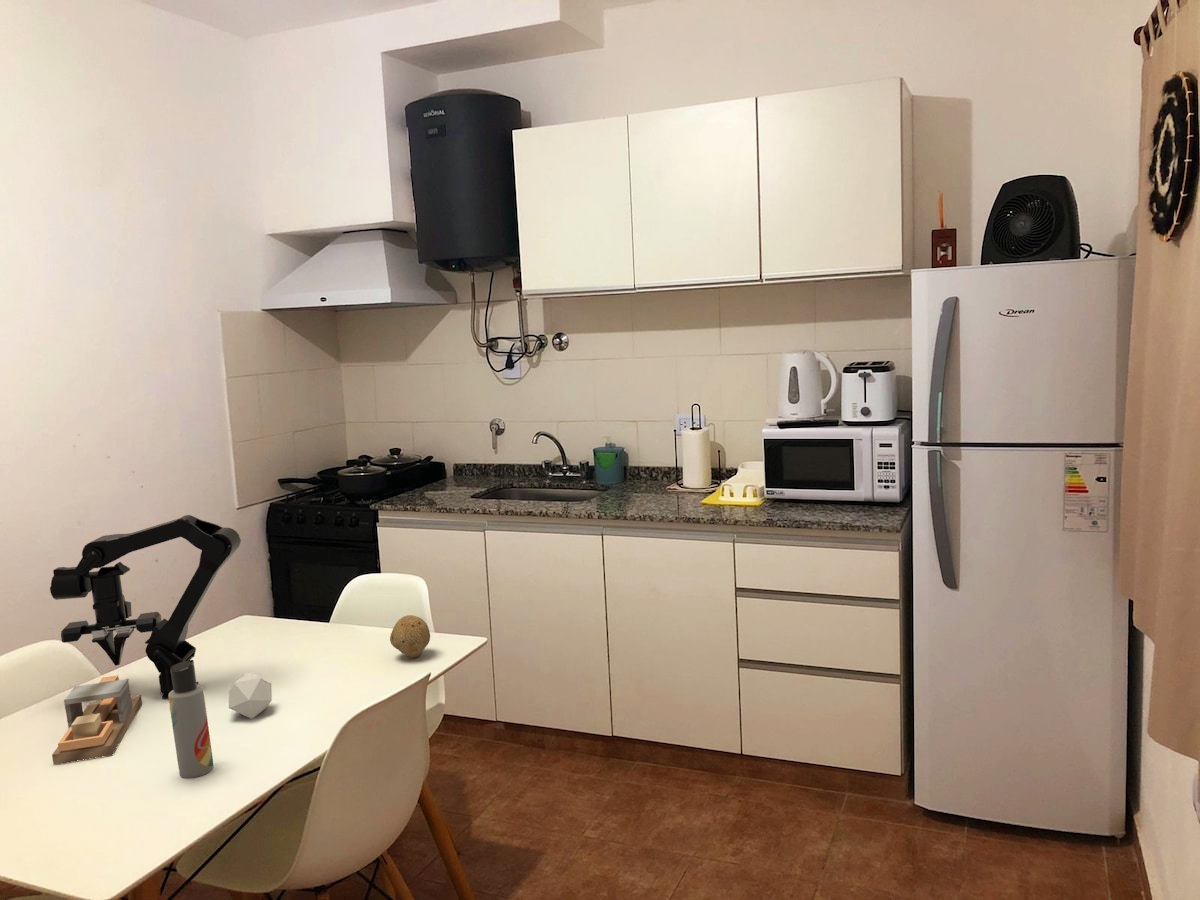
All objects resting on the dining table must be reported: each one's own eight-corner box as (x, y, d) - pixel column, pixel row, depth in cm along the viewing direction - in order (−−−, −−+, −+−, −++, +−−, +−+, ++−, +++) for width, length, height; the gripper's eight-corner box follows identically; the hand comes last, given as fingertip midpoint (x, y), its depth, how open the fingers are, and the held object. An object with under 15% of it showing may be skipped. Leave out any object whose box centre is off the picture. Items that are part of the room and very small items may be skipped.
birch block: (103, 732, 183) (100, 713, 182) (97, 741, 179) (94, 721, 178) (80, 736, 182) (77, 716, 181) (74, 745, 178) (71, 725, 177)
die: (282, 714, 192) (279, 669, 196) (252, 710, 185) (249, 663, 189) (251, 727, 194) (248, 681, 199) (220, 723, 187) (217, 676, 191)
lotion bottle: (220, 764, 170) (206, 659, 167) (198, 780, 165) (182, 671, 162) (195, 761, 172) (180, 657, 169) (172, 776, 167) (156, 669, 164)
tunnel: (142, 703, 201) (136, 666, 200) (112, 755, 177) (105, 712, 176) (91, 711, 199) (85, 673, 198) (53, 764, 175) (46, 721, 174)
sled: (133, 696, 200) (130, 673, 199) (103, 744, 177) (99, 719, 176) (94, 701, 198) (90, 679, 197) (59, 751, 175) (54, 725, 174)
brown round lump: (385, 663, 215) (380, 621, 213) (402, 649, 223) (398, 609, 222) (422, 664, 213) (418, 622, 211) (437, 650, 221) (433, 609, 220)
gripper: (162, 580, 212) (171, 646, 215) (71, 590, 208) (81, 658, 210) (151, 593, 202) (161, 663, 204) (55, 605, 197) (66, 676, 200)
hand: (117, 664), depth 205 cm, fingers closed
